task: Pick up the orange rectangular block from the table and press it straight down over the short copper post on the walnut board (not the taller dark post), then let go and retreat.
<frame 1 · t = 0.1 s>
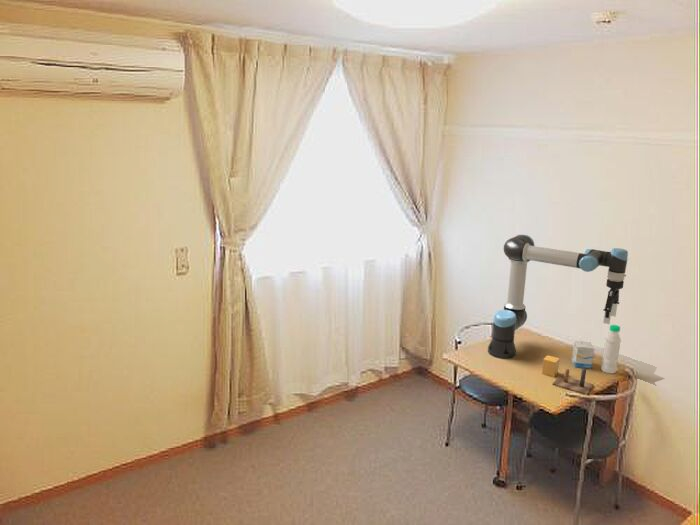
hand: (609, 319, 264), 28 cm above the table, fingers open, 13 cm apart
pigtail board: (572, 385, 254), on the table
ink box: (581, 364, 277), on the table
water bottle: (608, 371, 270), on the table
orange rectangular block: (549, 373, 267), on the table
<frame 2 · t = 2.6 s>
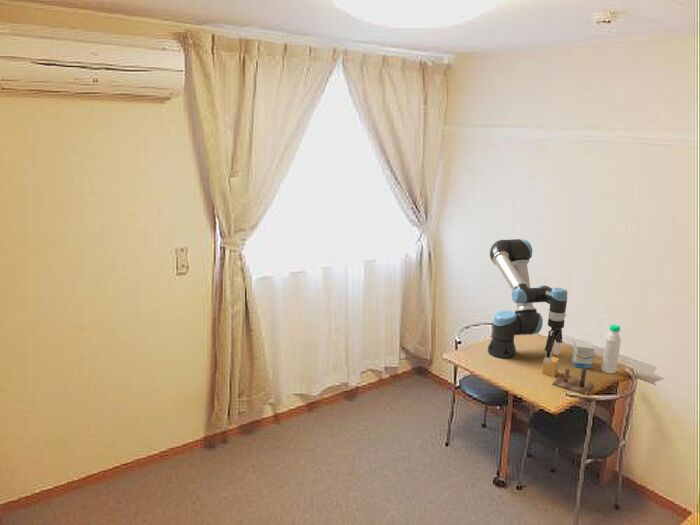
hand: (552, 358, 264), 8 cm above the table, fingers open, 13 cm apart
nothing on the table moved.
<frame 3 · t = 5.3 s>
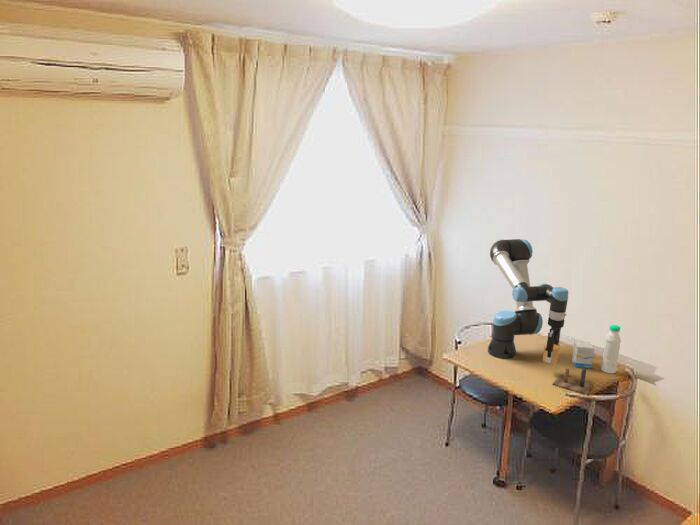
hand: (550, 359, 265), 7 cm above the table, fingers closed on orange rectangular block, 6 cm apart
orange rectangular block: (550, 360, 266), point 7 cm above the table, touching gripper
everything else where it was.
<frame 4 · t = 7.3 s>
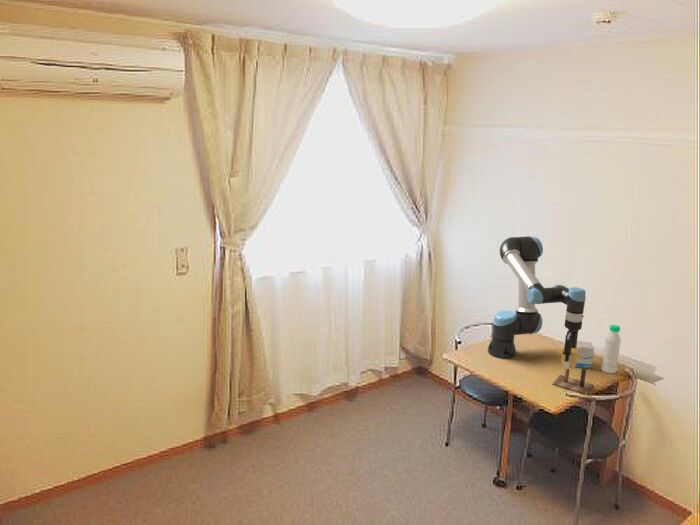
hand: (568, 364, 254), 10 cm above the table, fingers closed on orange rectangular block, 6 cm apart
orange rectangular block: (568, 364, 254), point 10 cm above the table, touching gripper
everything else where it was.
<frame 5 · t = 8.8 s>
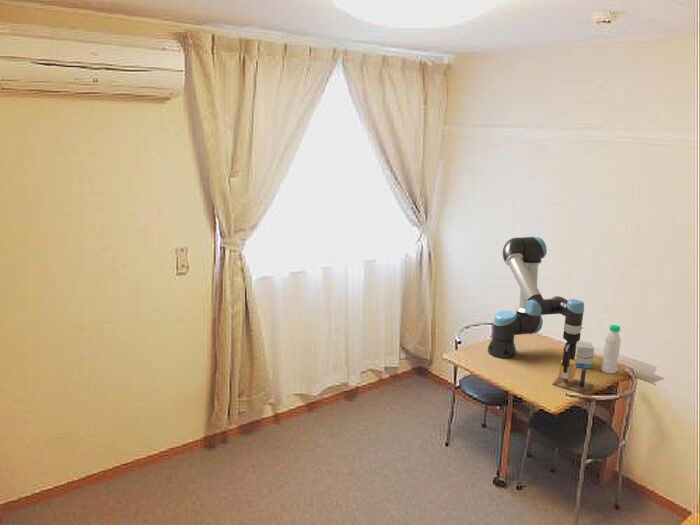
hand: (566, 375, 255), 4 cm above the table, fingers closed on orange rectangular block, 6 cm apart
orange rectangular block: (566, 376, 255), point 4 cm above the table, touching gripper
everything else where it was.
when the fingers open (3 cm above the table, at t = 9.8 s): orange rectangular block drops 2 cm, resting on pigtail board.
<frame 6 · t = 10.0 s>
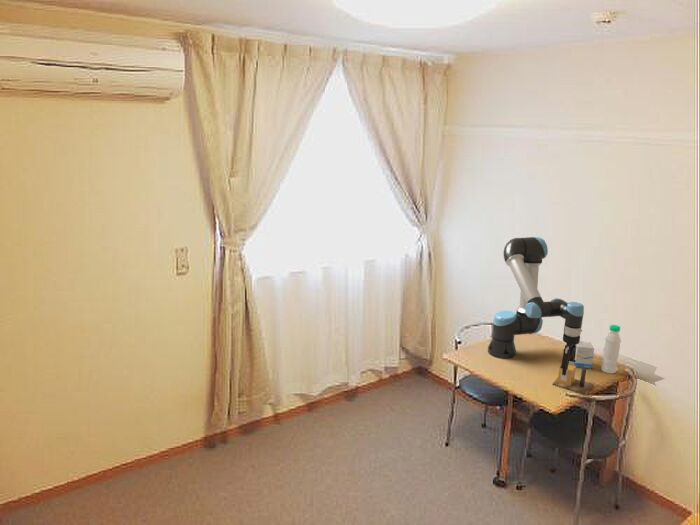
hand: (566, 376, 256), 3 cm above the table, fingers open, 8 cm apart
orange rectangular block: (565, 381, 256), point 1 cm above the table, touching pigtail board
everything else where it was.
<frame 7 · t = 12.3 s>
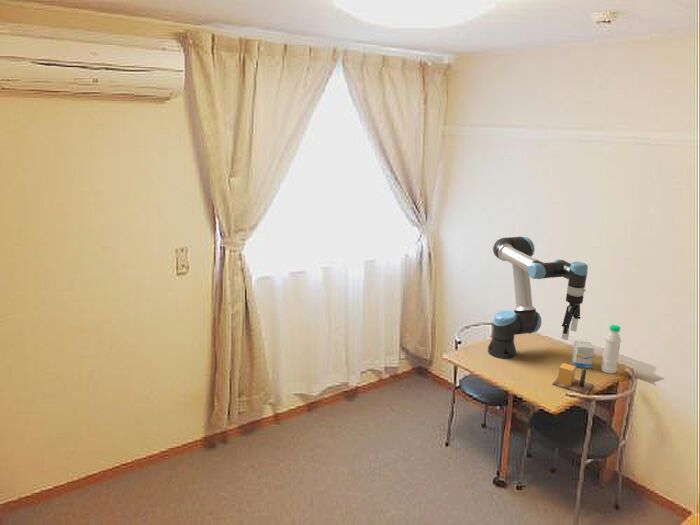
hand: (569, 335, 255), 24 cm above the table, fingers open, 13 cm apart
nothing on the table moved.
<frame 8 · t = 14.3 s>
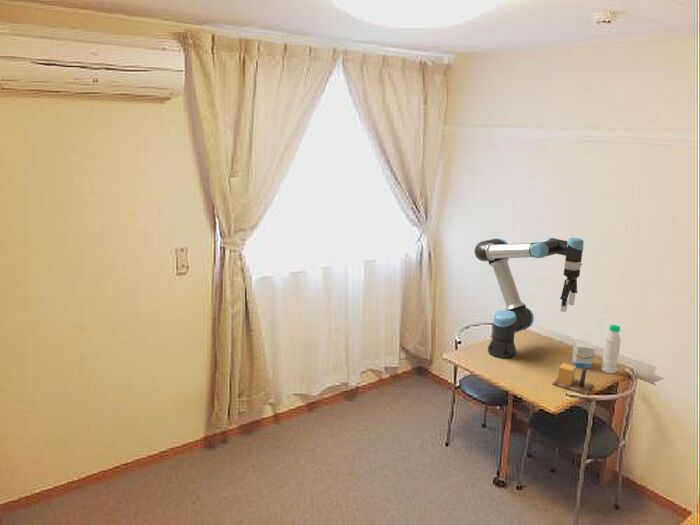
hand: (567, 308, 269), 32 cm above the table, fingers open, 13 cm apart
nothing on the table moved.
at the end: orange rectangular block 0.0 cm from the target spot on the pigtail board, point 0.8 cm above the pigtail board's base; orange rectangular block tilted 0°; the gripper is holding nothing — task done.
